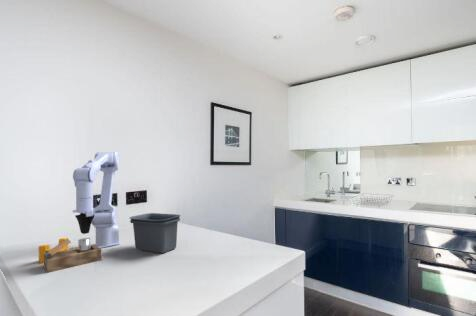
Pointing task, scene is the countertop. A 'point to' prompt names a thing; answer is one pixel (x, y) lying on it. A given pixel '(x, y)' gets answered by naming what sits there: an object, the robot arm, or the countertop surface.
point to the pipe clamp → (46, 248)
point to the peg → (83, 245)
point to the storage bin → (155, 231)
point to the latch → (58, 247)
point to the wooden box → (71, 258)
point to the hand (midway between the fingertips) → (84, 232)
